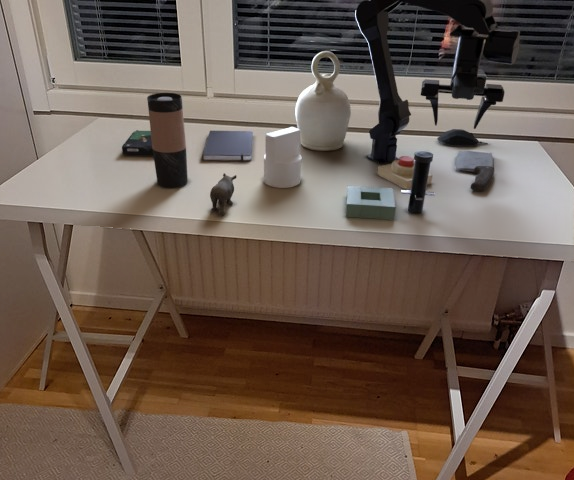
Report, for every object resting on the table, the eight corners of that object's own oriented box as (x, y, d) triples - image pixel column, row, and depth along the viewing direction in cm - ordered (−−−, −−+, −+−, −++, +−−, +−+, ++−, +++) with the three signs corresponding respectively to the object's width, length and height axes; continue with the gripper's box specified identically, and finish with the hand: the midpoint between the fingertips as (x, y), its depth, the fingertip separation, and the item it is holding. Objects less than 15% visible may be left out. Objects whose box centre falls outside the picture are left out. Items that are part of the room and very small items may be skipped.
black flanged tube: (399, 217, 119) (408, 158, 112) (397, 203, 125) (405, 147, 118) (432, 219, 118) (443, 160, 111) (429, 205, 124) (438, 149, 117)
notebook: (210, 135, 163) (203, 160, 146) (209, 130, 163) (202, 154, 145) (253, 136, 164) (251, 161, 146) (253, 131, 163) (251, 155, 145)
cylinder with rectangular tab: (282, 171, 140) (283, 123, 134) (308, 181, 135) (310, 132, 129) (256, 179, 135) (255, 131, 128) (281, 190, 130) (282, 140, 123)
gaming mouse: (490, 147, 160) (493, 134, 158) (439, 145, 160) (441, 132, 158) (484, 140, 165) (487, 127, 163) (435, 139, 166) (437, 125, 163)
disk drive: (161, 157, 147) (171, 139, 159) (160, 147, 146) (170, 129, 158) (122, 157, 147) (135, 138, 159) (121, 146, 145) (133, 129, 158)
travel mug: (194, 179, 134) (188, 94, 124) (179, 190, 128) (171, 102, 117) (166, 174, 136) (158, 91, 126) (150, 185, 130) (139, 98, 119)
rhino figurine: (241, 192, 128) (240, 167, 125) (226, 216, 117) (225, 190, 114) (224, 190, 129) (223, 165, 126) (207, 215, 118) (206, 188, 114)
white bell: (313, 132, 168) (317, 44, 155) (357, 143, 161) (366, 51, 147) (283, 145, 158) (285, 51, 144) (329, 157, 150) (336, 59, 137)
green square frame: (345, 216, 118) (347, 203, 117) (346, 197, 127) (347, 185, 125) (393, 219, 118) (395, 207, 116) (391, 200, 126) (392, 188, 125)
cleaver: (493, 194, 130) (495, 186, 129) (451, 189, 132) (452, 180, 131) (492, 156, 154) (493, 149, 153) (456, 152, 156) (457, 144, 155)
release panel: (377, 174, 140) (379, 159, 138) (401, 169, 143) (403, 154, 141) (405, 189, 132) (408, 173, 130) (430, 183, 135) (433, 168, 133)
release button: (395, 164, 136) (396, 157, 135) (406, 161, 138) (407, 155, 137) (404, 168, 134) (405, 161, 133) (416, 166, 135) (417, 159, 134)
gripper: (425, 62, 122) (414, 132, 130) (513, 68, 118) (497, 140, 127) (426, 54, 131) (416, 120, 139) (508, 59, 128) (493, 126, 136)
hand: (455, 126), depth 135 cm, fingers open, 9 cm apart
